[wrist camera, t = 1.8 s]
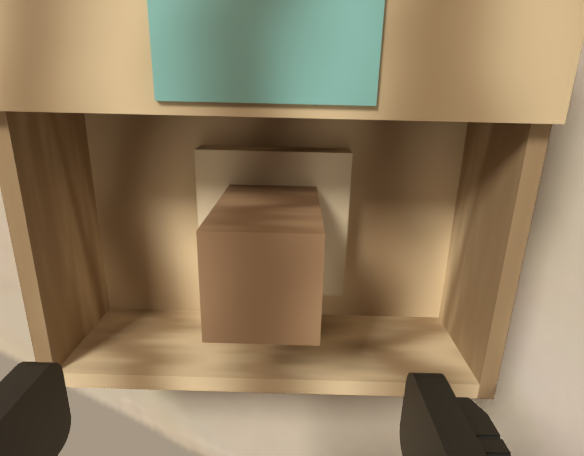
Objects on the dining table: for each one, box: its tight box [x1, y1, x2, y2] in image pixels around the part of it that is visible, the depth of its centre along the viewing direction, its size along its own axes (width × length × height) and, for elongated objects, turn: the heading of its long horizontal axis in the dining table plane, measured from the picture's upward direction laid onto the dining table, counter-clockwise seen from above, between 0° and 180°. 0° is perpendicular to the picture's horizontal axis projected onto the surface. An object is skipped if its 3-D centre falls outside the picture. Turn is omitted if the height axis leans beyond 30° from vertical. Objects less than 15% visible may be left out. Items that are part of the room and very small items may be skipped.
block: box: [196, 184, 326, 346], centre depth 19 cm, size 4×4×8 cm
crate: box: [0, 0, 584, 399], centre depth 20 cm, size 22×21×8 cm
